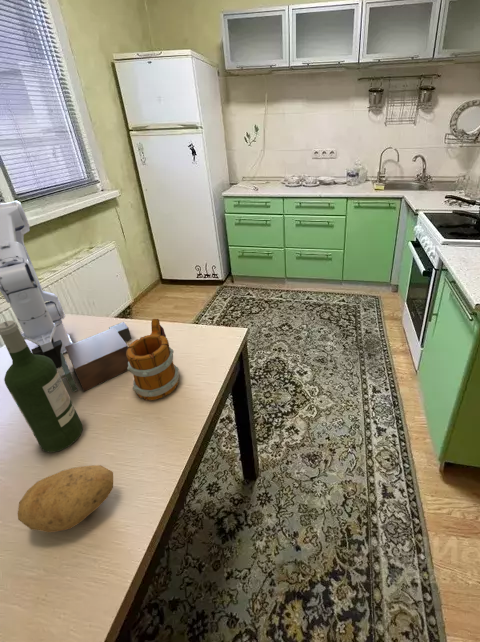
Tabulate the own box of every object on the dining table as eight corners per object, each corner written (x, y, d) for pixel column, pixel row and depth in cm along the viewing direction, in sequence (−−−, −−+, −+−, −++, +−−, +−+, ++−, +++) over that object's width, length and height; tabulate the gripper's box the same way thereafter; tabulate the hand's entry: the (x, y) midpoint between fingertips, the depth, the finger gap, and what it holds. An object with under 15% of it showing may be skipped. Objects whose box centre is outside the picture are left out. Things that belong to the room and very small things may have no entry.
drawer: (50, 402, 78) (42, 385, 76) (43, 379, 85) (35, 362, 83) (120, 369, 88) (114, 352, 85) (109, 351, 95) (103, 335, 92)
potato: (117, 524, 55) (104, 497, 52) (21, 557, 52) (0, 530, 48) (124, 470, 64) (113, 444, 60) (41, 495, 60) (25, 469, 56)
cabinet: (84, 391, 83) (74, 368, 79) (73, 368, 90) (64, 346, 87) (134, 367, 90) (127, 345, 87) (120, 347, 98) (114, 327, 94)
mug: (129, 404, 78) (112, 356, 72) (149, 358, 93) (136, 315, 86) (174, 400, 79) (162, 352, 72) (187, 355, 94) (177, 312, 87)
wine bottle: (86, 438, 70) (34, 325, 57) (43, 460, 66) (-25, 344, 53) (80, 415, 76) (31, 307, 63) (39, 434, 72) (-22, 323, 58)
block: (112, 338, 102) (108, 327, 100) (127, 332, 104) (123, 321, 102) (117, 345, 99) (113, 333, 97) (131, 338, 101) (128, 327, 99)
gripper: (6, 308, 76) (29, 353, 82) (14, 335, 66) (39, 384, 72) (42, 297, 80) (61, 340, 86) (54, 321, 71) (74, 368, 77)
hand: (53, 359), depth 80 cm, fingers open, 7 cm apart
